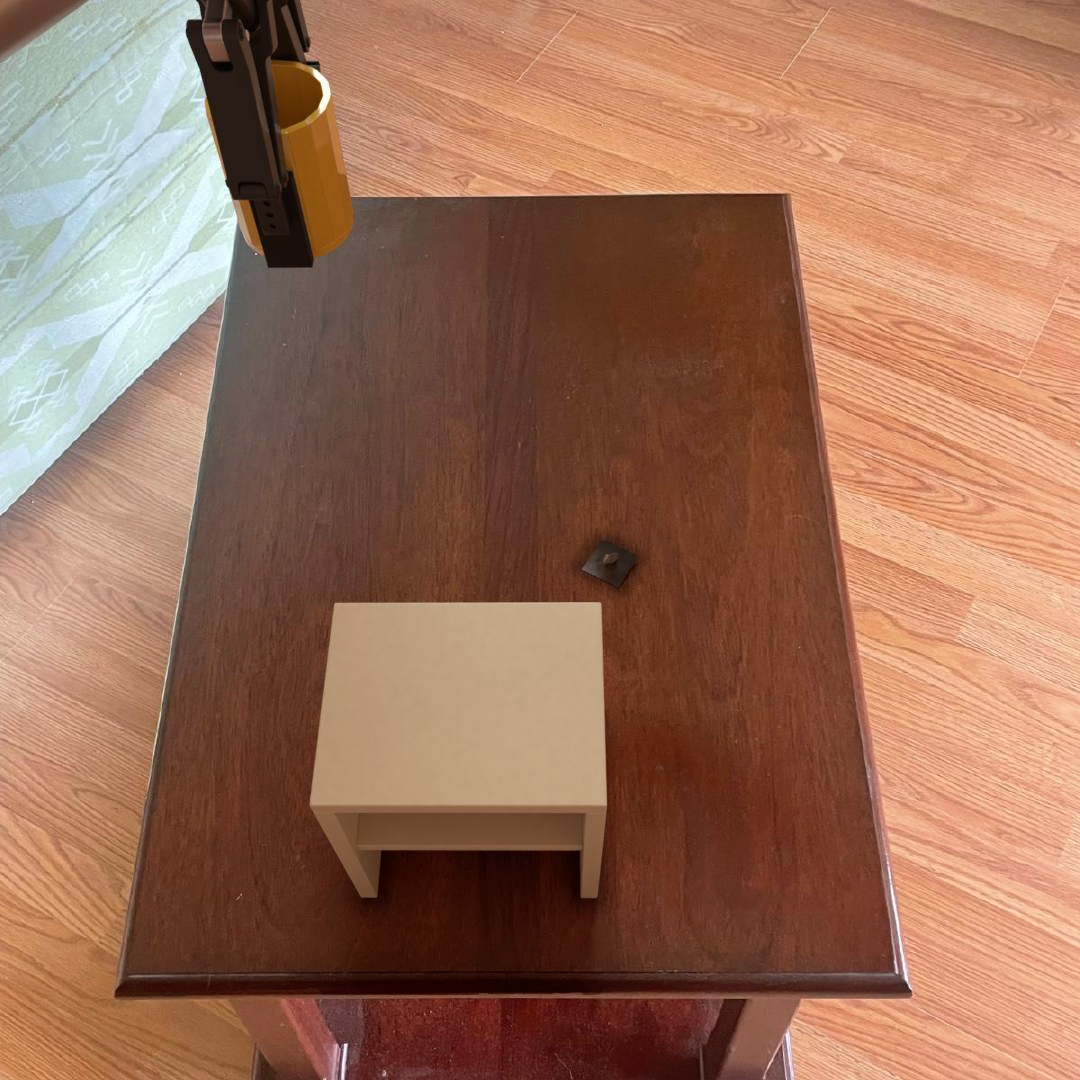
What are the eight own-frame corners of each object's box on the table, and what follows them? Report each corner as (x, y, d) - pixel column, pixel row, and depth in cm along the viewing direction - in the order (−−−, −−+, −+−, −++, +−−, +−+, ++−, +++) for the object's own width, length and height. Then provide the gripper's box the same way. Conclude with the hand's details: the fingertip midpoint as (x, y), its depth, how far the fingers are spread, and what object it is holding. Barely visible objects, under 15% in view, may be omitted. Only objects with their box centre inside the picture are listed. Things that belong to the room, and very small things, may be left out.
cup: (276, 278, 67) (241, 153, 59) (222, 215, 70) (183, 89, 63) (375, 231, 69) (353, 104, 62) (318, 172, 72) (292, 45, 65)
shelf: (360, 897, 65) (308, 806, 52) (376, 724, 71) (333, 602, 58) (597, 898, 65) (607, 806, 52) (593, 724, 71) (601, 601, 58)
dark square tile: (618, 588, 77) (618, 580, 75) (581, 569, 77) (580, 561, 76) (638, 556, 78) (638, 548, 77) (602, 538, 79) (601, 530, 77)
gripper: (250, -61, 45) (342, 337, 64) (310, -276, 56) (373, 118, 75) (65, -59, 45) (212, 337, 64) (161, -275, 56) (262, 119, 75)
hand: (299, 219), depth 69 cm, fingers closed on cup, 7 cm apart
